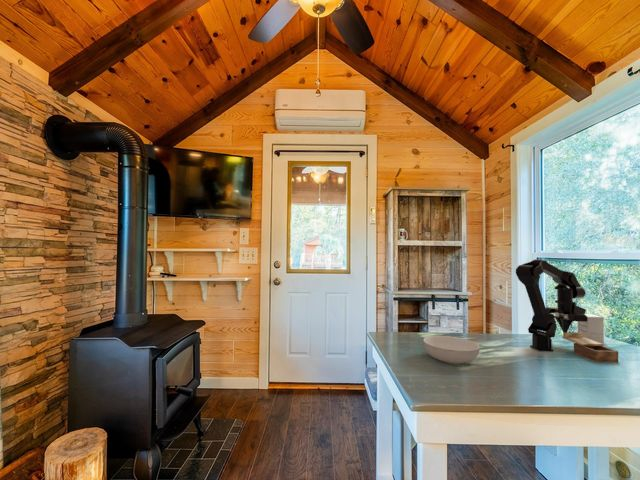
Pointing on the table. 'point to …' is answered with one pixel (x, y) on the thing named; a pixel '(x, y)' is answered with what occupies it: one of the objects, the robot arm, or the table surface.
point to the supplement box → (592, 328)
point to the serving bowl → (451, 349)
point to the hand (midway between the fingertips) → (565, 332)
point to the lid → (580, 339)
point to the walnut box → (596, 353)
